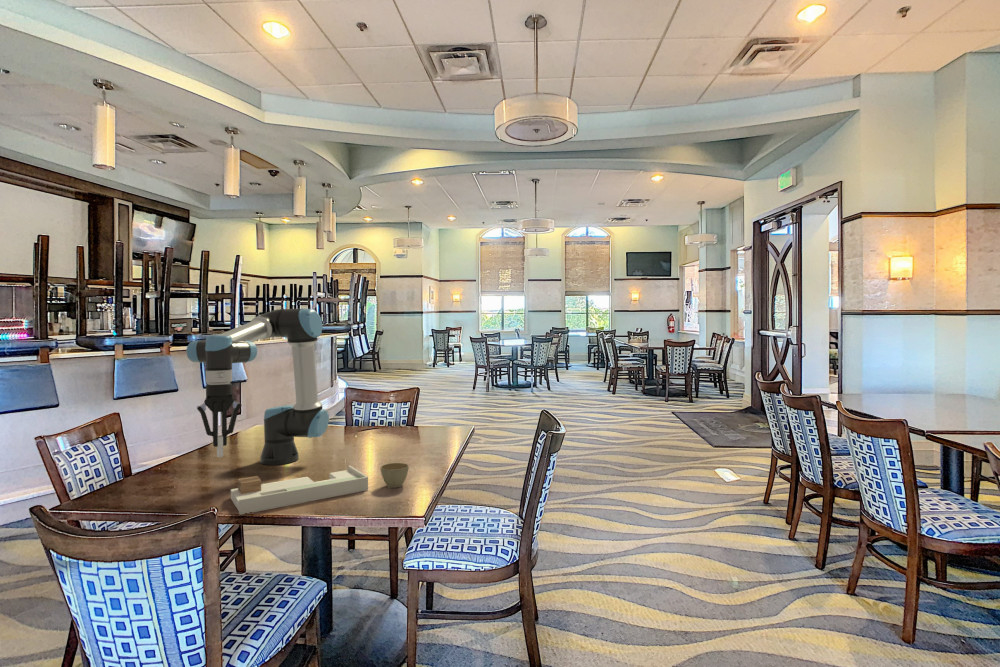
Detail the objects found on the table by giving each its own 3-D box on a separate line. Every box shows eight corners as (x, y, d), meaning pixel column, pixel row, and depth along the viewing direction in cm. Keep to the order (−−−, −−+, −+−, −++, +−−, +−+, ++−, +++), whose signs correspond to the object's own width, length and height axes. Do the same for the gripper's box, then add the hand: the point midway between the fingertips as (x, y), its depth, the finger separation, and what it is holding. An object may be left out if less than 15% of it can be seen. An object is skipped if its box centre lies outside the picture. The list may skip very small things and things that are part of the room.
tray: (229, 498, 177) (229, 485, 177) (350, 477, 201) (350, 465, 201) (239, 514, 162) (239, 500, 162) (368, 489, 185) (368, 477, 185)
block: (238, 489, 177) (237, 479, 177) (257, 486, 181) (257, 475, 180) (241, 494, 172) (241, 483, 172) (261, 490, 176) (261, 480, 176)
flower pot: (413, 483, 193) (413, 463, 193) (400, 491, 183) (399, 471, 183) (389, 480, 196) (389, 461, 196) (374, 488, 187) (374, 468, 187)
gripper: (197, 385, 164) (198, 461, 164) (243, 382, 171) (244, 455, 172) (194, 383, 170) (195, 456, 170) (239, 381, 178) (240, 451, 178)
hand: (220, 456), depth 171 cm, fingers closed
